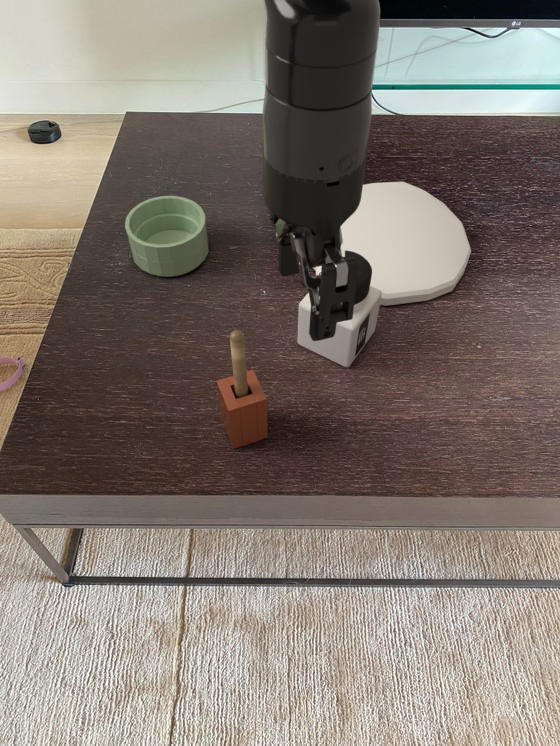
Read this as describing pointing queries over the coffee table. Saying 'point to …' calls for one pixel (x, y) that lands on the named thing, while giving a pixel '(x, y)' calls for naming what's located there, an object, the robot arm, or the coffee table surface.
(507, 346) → the coffee table surface
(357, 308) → the container
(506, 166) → the coffee table surface
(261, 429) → the utensil block
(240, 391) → the cooking stick
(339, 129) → the robot arm
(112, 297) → the coffee table surface
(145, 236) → the bowl
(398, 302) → the decorative plate
